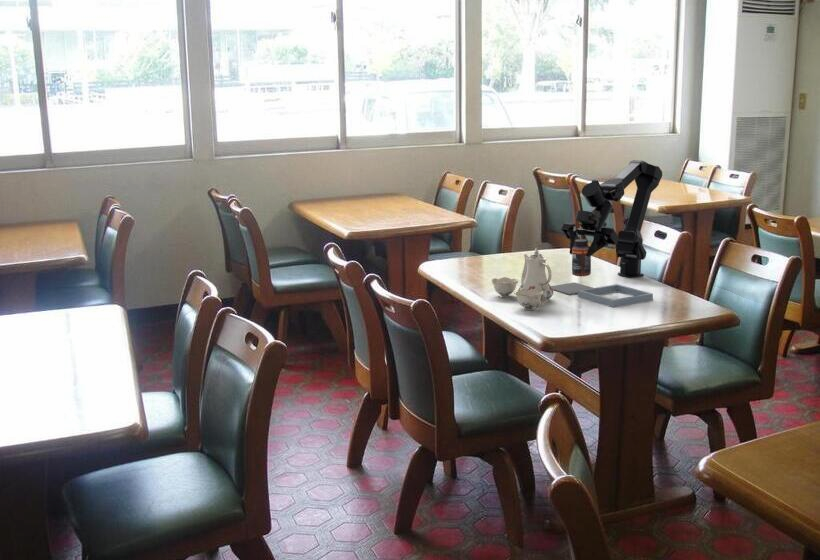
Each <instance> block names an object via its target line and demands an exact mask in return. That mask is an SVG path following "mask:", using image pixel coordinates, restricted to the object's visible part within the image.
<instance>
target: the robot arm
mask: <svg viewBox="0 0 820 560" xmlns="http://www.w3.org/2000/svg"><path fill="white" fill-rule="evenodd" d="M662 177H663V171H662V169H661V167H660V166H658V165H654V164H650V163H648V162H647V161H644V160H638V159H637V160H635V159H634V160H630V161H629V163H628V165H627V166H626V167H624V168H623V169H622V171H620V172H619V173H618V174H617V175H616V176H615V177H614V178H612V179H607V180H604V182H602V183H600V182H599V180H595V179H593V180H592V181H591V182H589V183H587V184H586V185H584V186H583V187H582V189H581V194H582V196H583V197H584V199H585V201H586V203H587V205H589V207H592V208H591V210H590V211H589V210H580V209H579V210H577V211H576V215H575V220H574V221H577V222H578V223H579V226H580V227H582V228H578V227H577V226H576V224H575V223H569V222H564V223H562V225H561V227H560V231H561V232H562V234H563V235H564V236H565V238H566V239H568V240H570V242H569V243H570V245H569V254H570V255H571V256H572V248H573V247H574V246H575V240H577V239H580V236H585V237H591V238H593V240H592V241H591V244H590V246H589V247H590V248H589V250H588V252H587V257H590V256H592V255H594V254H595V253H596V252H598V251H599V250H601V249H603V248H604V247H607V246H609V245H611V246H612V245H614V246H615V251H616V252H615V253H616V257H617V258H621V259H620V267H619V272H617V275H618V276H623V277H626V278H637V277H643V276H644V275H645V273H641V270H642V269H641V267H642V260H643V261H644V260H645V259H646V257H647V251H646V249H645V247H644V245H643V242H644V238H643V235H642V227H643V224H644V220H645V217H646V212H647V209H648V206H649V201H650V198H651V196H652V195H651V194H652V193H653V192H654V191H655V190H656V189H657V187H658V186H659V184H660V181H661V179H662ZM633 181H634V182H635V185H636V192H635V195H634V199H633V202H632V206H631V210H630V212H629V213H630V214H629V216H628V219H627V225H626V227H625V228H624V229H623V230H619V232H618V233H617V232H616V230H615V229H614V228H613V227H608V226H607V219H608V217H609V215H610V214H614V213H615V209H614V207H613V206H614V205H613V204H612V202H613V203H614V202H616V203H617V202H620V201H621V199H622V198H623V197H624V195H625V190H626V188H627V187H628V186H629V185H630V184H631V183H632V182H633Z"/></svg>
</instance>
